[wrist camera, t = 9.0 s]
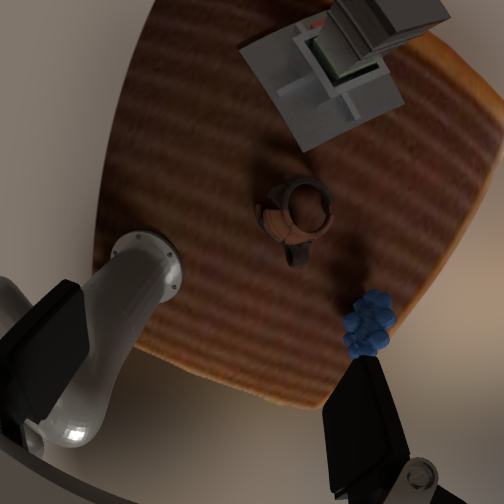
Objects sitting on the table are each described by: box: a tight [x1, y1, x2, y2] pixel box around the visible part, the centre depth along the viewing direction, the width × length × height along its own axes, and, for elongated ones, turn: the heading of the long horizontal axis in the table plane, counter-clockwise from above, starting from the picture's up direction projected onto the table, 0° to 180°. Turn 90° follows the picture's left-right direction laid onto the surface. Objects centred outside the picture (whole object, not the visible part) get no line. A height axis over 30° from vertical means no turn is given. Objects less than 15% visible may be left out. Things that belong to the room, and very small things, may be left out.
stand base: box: [239, 9, 405, 153], centre depth 27 cm, size 16×16×11 cm
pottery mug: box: [255, 175, 334, 269], centre depth 38 cm, size 12×10×8 cm
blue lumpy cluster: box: [342, 289, 396, 359], centre depth 39 cm, size 12×7×12 cm, turn 164°
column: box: [311, 0, 451, 83], centre depth 17 cm, size 4×4×19 cm
